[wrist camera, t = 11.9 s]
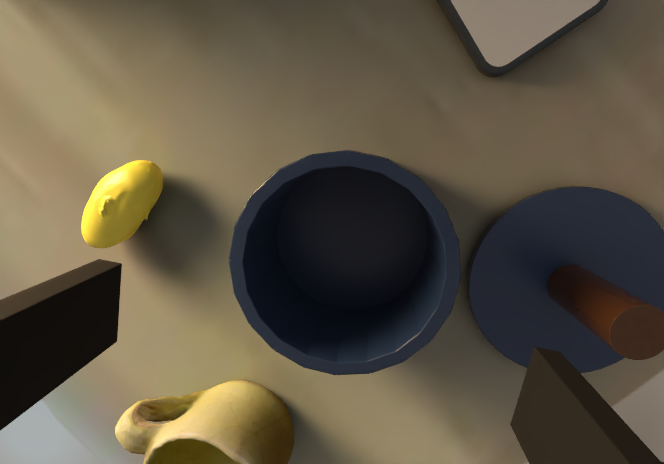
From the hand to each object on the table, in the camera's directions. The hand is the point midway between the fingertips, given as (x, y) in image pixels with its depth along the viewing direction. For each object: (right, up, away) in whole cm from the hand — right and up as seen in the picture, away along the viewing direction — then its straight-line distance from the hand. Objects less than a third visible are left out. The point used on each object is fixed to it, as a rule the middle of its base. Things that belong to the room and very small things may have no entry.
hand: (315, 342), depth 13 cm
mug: (-8, -12, +22) cm, 26 cm away
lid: (+17, 0, +16) cm, 24 cm away
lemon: (-15, +6, +19) cm, 25 cm away
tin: (+2, +3, +18) cm, 18 cm away
